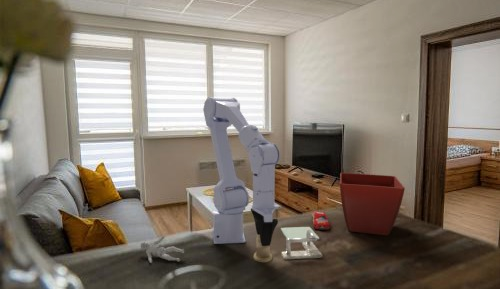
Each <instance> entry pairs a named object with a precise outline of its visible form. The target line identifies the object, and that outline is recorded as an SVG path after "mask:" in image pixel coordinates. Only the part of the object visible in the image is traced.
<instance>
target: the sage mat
mask: <svg viewBox="0 0 500 289" xmlns="http://www.w3.org/2000/svg"><path fill="white" fill-rule="evenodd" d="M307 230H310V231H311V232H312V233H313V234H314V236H315V237H316V238H317V241H318V240H320V237H319V236H318V234H317V233H315V231H314V230H313V229H312V228H311V227H310V226H298V227H297V226H295V227H294V226H293V227H292V226H291V227H290V226H289V227H280V231H281V232H282V234H283V236H284V237H285V239H286V240H287V239H294V238H306V233H307Z"/></svg>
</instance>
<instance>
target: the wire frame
mask: <svg viewBox="0 0 500 289" xmlns="http://www.w3.org/2000/svg"><path fill="white" fill-rule="evenodd" d="M317 241H318V240H317V238H316V237H315V236H314V234H313V233H312V232H311V231H310V230H307V233H306V238H294V239H286V240H285V243H286V244H285V246H286V248H285V250H284V251H281V256H282V258H283V260H295V259H296V260H297V259H299V260H302V259H318V258H320V259H321V258H323V254H322V252H321V251H320V250H319V248H317V246H316V245H315V243H314V242H317ZM292 243H301V245H302V247H303V248H304V250H291V246H292Z"/></svg>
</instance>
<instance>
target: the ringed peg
mask: <svg viewBox="0 0 500 289" xmlns="http://www.w3.org/2000/svg"><path fill="white" fill-rule="evenodd" d="M255 240H256V241H255V242H256V244H255V246H256V248H255V249H256V250H255V252H254V253H253V260H254V261H256V262H258V263H268V262H271V261H272V259H273V254H272V253H271V251H270V250H271V249H270V247H271V245H270V246H262V245H261V240H260V234H259V235H257V234H256V239H255Z"/></svg>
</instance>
